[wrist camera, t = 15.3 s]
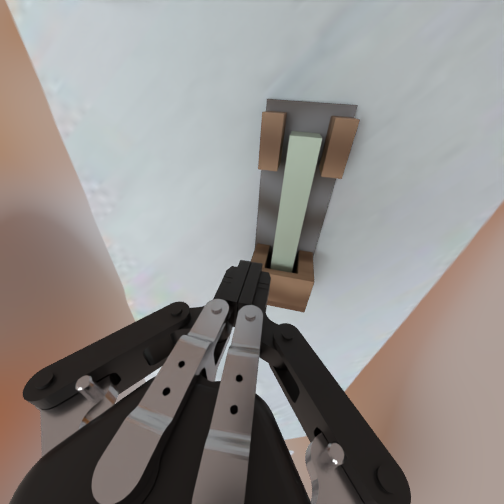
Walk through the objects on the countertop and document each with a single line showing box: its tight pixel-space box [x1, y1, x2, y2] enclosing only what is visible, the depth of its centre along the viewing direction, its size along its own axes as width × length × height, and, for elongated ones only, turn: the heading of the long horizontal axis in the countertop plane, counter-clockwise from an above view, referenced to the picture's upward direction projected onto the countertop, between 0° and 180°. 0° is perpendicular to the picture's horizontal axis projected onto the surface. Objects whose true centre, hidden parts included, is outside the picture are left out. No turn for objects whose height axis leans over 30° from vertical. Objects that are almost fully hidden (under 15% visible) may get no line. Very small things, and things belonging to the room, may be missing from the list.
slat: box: [270, 131, 322, 273], centre depth 27 cm, size 20×3×4 cm, turn 177°
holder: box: [251, 99, 360, 312], centre depth 26 cm, size 24×9×8 cm, turn 177°
